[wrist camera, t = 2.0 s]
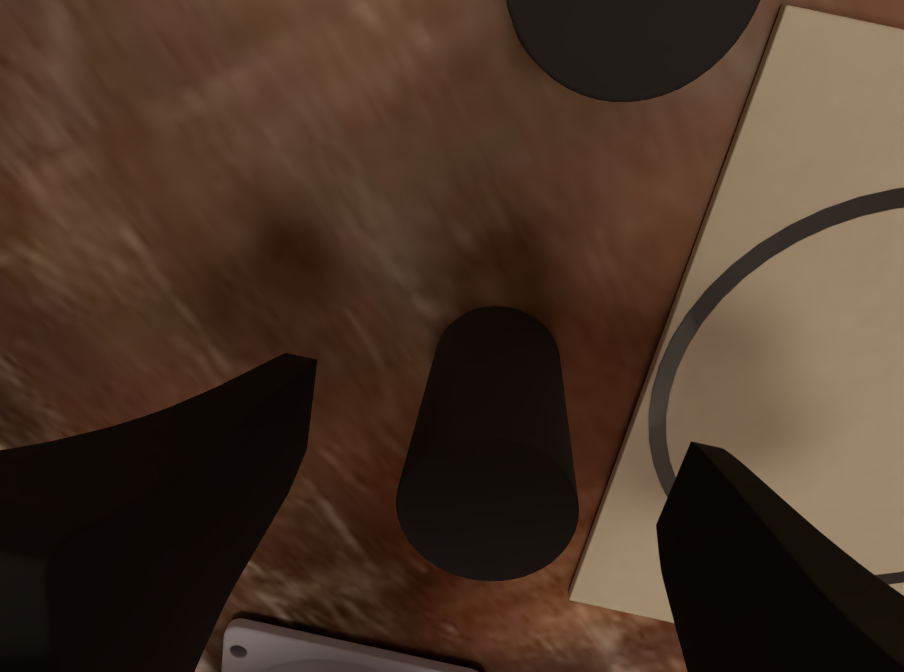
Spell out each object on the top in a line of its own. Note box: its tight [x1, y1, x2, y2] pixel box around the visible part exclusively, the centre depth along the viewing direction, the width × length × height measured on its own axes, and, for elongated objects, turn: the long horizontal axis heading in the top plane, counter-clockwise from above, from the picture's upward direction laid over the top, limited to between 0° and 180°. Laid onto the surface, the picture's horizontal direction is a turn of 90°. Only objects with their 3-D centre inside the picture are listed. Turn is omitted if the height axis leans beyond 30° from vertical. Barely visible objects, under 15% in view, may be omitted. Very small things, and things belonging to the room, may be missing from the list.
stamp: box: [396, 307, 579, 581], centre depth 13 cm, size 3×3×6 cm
